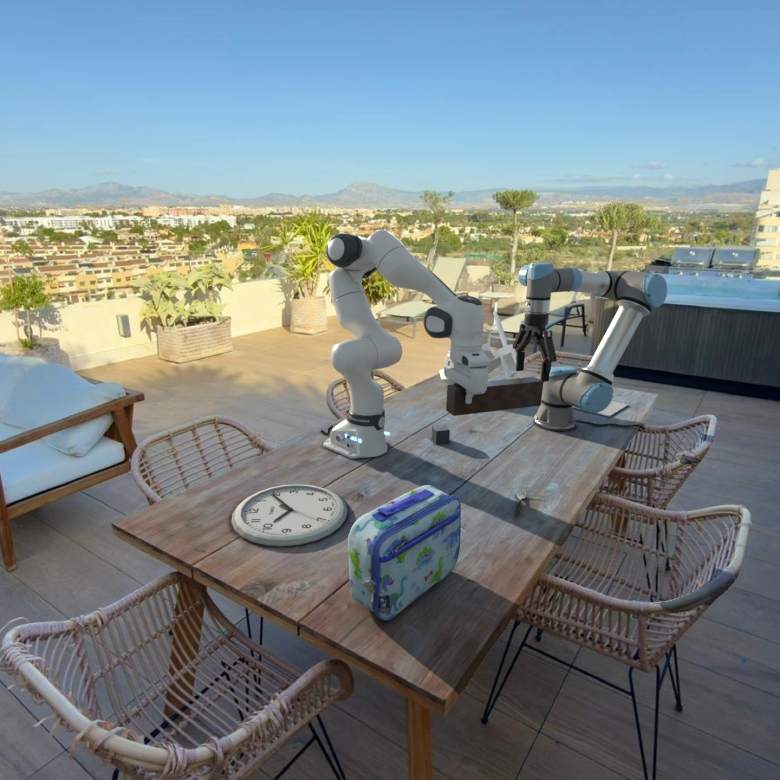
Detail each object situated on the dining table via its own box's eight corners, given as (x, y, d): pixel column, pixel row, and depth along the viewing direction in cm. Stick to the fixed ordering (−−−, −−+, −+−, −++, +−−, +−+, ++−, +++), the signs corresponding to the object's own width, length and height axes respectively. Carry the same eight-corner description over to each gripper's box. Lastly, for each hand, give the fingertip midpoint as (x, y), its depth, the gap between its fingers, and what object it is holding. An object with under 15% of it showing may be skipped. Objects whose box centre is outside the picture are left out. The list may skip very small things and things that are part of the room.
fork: (510, 517, 138) (511, 510, 137) (518, 490, 152) (518, 484, 152) (520, 519, 137) (521, 512, 137) (527, 491, 152) (528, 485, 151)
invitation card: (608, 416, 214) (573, 407, 224) (608, 416, 214) (573, 408, 224) (628, 404, 229) (594, 396, 238) (628, 405, 229) (594, 397, 238)
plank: (531, 400, 166) (533, 376, 163) (540, 405, 161) (543, 381, 159) (445, 410, 156) (447, 384, 153) (453, 416, 151) (455, 389, 149)
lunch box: (378, 635, 98) (379, 537, 91) (341, 606, 105) (340, 513, 99) (464, 574, 115) (470, 488, 109) (427, 553, 122) (431, 471, 116)
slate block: (444, 437, 190) (445, 425, 189) (449, 443, 185) (450, 430, 184) (431, 438, 189) (432, 425, 187) (435, 444, 184) (436, 431, 183)
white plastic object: (461, 429, 252) (437, 405, 227) (444, 352, 274) (420, 323, 250) (535, 404, 240) (518, 377, 215) (510, 326, 262) (492, 293, 237)
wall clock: (347, 538, 125) (219, 542, 122) (347, 544, 125) (219, 548, 123) (347, 480, 153) (242, 482, 151) (347, 485, 154) (243, 487, 151)
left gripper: (439, 346, 158) (437, 390, 162) (472, 363, 139) (469, 411, 143) (458, 345, 160) (455, 388, 164) (493, 361, 141) (489, 409, 146)
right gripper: (505, 307, 177) (501, 367, 184) (552, 319, 155) (546, 387, 162) (523, 306, 180) (519, 365, 186) (572, 317, 158) (565, 384, 164)
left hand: (462, 399), depth 154 cm, fingers closed on plank, 5 cm apart
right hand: (531, 376), depth 174 cm, fingers open, 13 cm apart
